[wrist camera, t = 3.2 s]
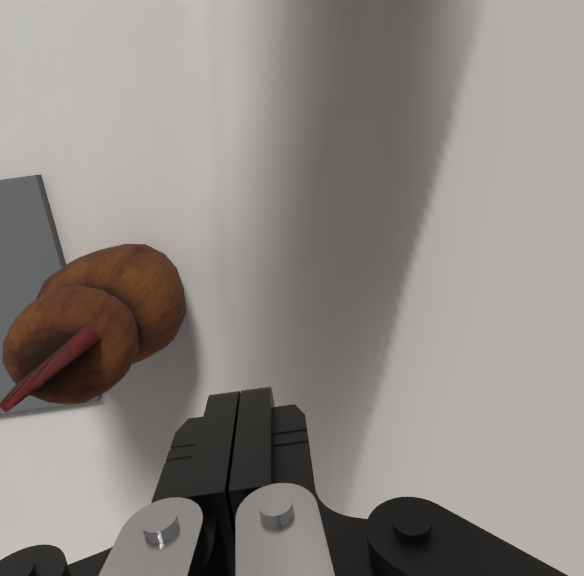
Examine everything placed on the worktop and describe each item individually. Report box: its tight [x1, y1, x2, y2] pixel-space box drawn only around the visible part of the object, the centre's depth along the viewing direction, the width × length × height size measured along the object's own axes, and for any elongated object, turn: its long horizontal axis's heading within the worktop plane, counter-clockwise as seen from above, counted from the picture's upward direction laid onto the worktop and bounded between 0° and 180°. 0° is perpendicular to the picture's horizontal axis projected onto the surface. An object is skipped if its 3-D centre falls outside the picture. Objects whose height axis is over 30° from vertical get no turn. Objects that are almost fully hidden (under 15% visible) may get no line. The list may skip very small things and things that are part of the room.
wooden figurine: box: [0, 244, 186, 413], centre depth 21 cm, size 7×6×15 cm
